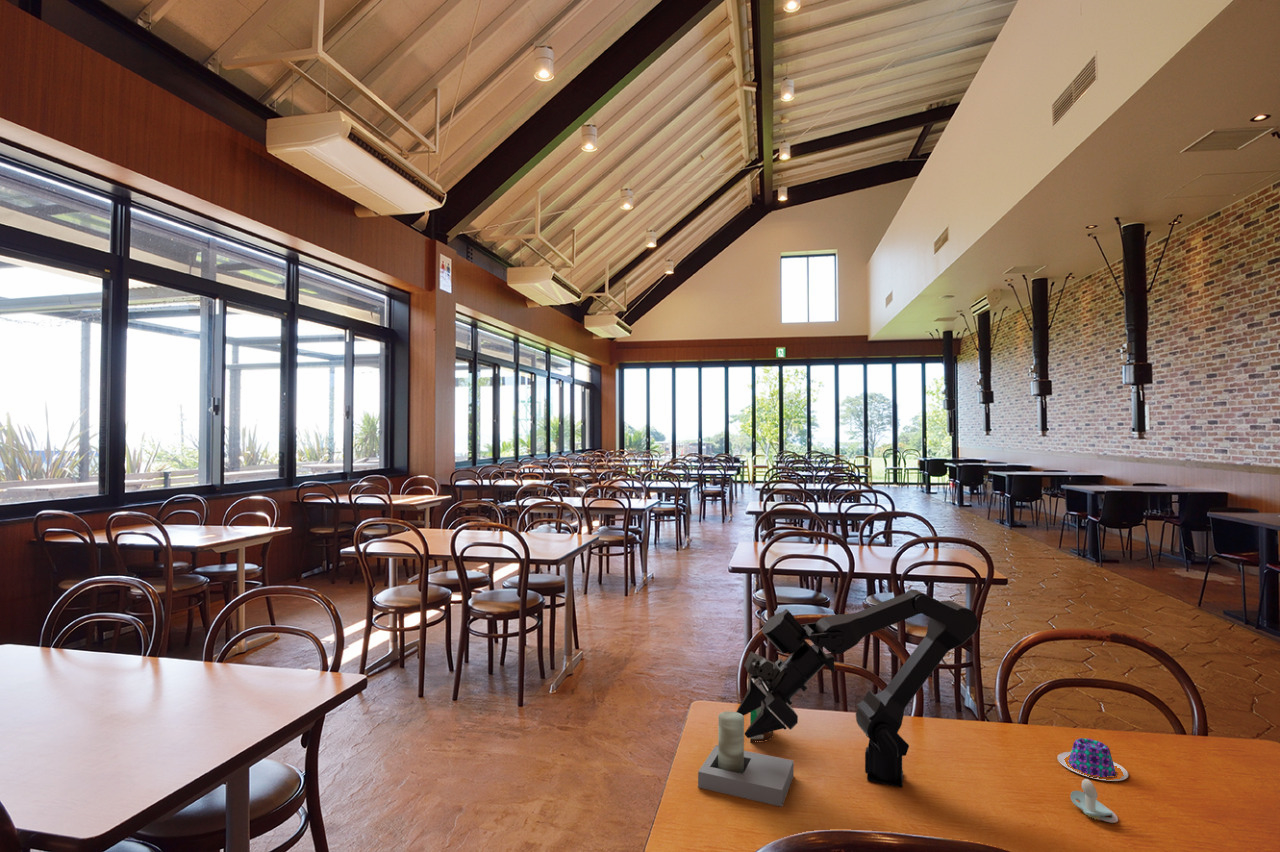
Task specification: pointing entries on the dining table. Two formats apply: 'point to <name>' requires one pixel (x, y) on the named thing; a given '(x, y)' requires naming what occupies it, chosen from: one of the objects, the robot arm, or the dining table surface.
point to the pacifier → (1092, 803)
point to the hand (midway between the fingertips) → (741, 725)
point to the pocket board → (749, 777)
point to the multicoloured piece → (1091, 759)
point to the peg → (731, 742)
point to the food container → (763, 736)
